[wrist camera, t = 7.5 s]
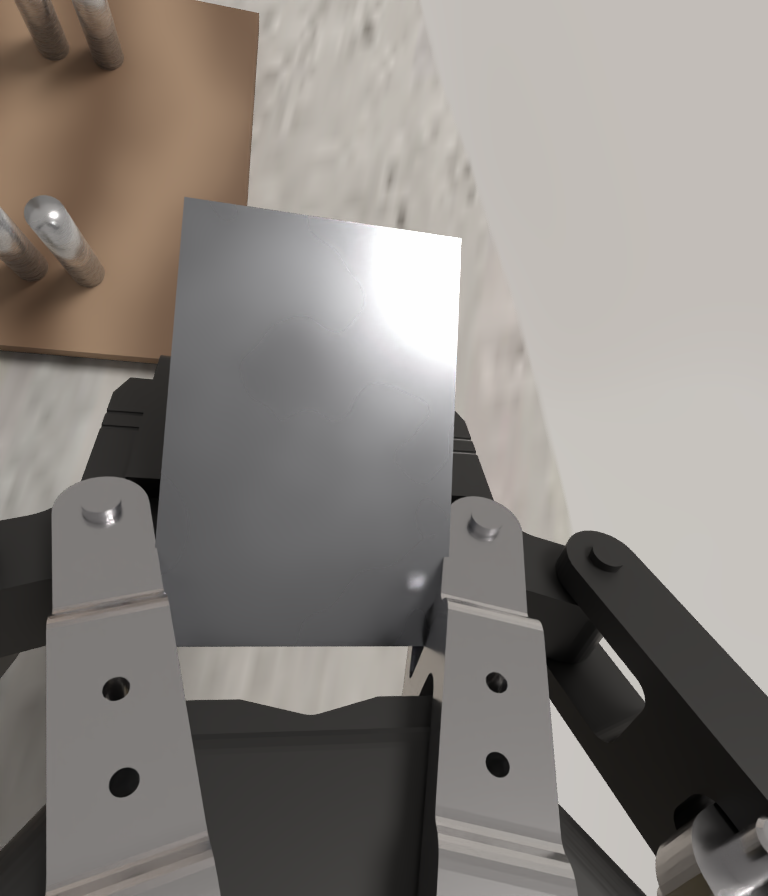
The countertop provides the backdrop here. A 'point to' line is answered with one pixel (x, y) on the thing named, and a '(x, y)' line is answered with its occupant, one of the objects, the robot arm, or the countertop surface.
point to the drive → (307, 430)
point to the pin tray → (113, 163)
